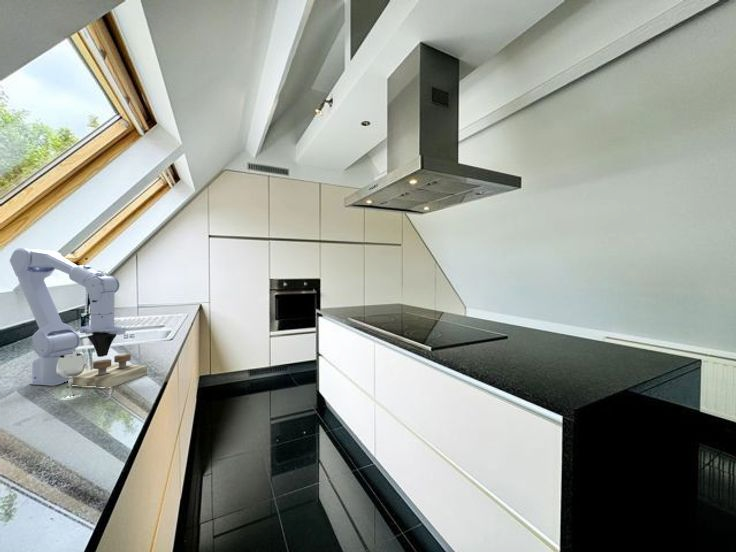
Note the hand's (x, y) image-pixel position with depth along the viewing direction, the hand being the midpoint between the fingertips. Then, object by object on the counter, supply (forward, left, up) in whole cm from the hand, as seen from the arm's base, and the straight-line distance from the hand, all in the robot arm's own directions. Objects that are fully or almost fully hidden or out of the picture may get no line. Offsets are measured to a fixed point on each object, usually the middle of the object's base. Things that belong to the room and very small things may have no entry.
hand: (102, 356), depth 97 cm
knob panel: (-1, +3, -9) cm, 10 cm away
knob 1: (0, 0, -6) cm, 6 cm away
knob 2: (0, +7, -6) cm, 10 cm away
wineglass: (+2, -11, -9) cm, 14 cm away
